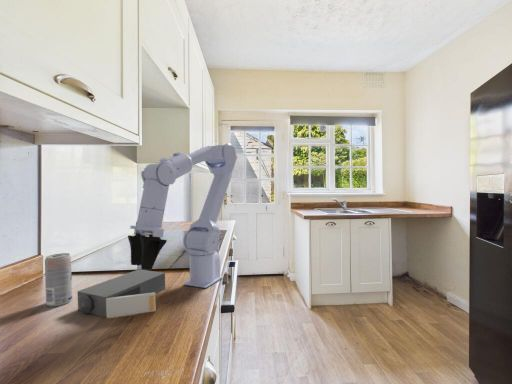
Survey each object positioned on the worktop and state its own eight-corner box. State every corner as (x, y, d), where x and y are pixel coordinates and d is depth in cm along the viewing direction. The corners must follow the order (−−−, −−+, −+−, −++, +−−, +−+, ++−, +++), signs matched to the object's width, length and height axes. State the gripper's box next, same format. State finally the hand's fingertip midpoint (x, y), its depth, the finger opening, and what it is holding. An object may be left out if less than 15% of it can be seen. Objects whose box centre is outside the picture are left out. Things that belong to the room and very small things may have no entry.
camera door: (155, 309, 61) (155, 292, 61) (155, 312, 60) (154, 294, 60) (107, 316, 58) (107, 298, 58) (105, 319, 57) (105, 300, 57)
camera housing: (139, 284, 79) (139, 269, 79) (165, 288, 75) (165, 273, 75) (73, 311, 62) (73, 292, 62) (103, 319, 58) (102, 299, 58)
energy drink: (68, 296, 71) (67, 252, 71) (75, 301, 68) (73, 254, 67) (43, 303, 67) (41, 256, 67) (49, 309, 64) (47, 259, 63)
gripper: (126, 208, 68) (114, 262, 65) (145, 205, 57) (132, 270, 54) (153, 212, 72) (143, 264, 69) (176, 211, 61) (165, 271, 58)
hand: (140, 267), depth 62 cm, fingers open, 7 cm apart
